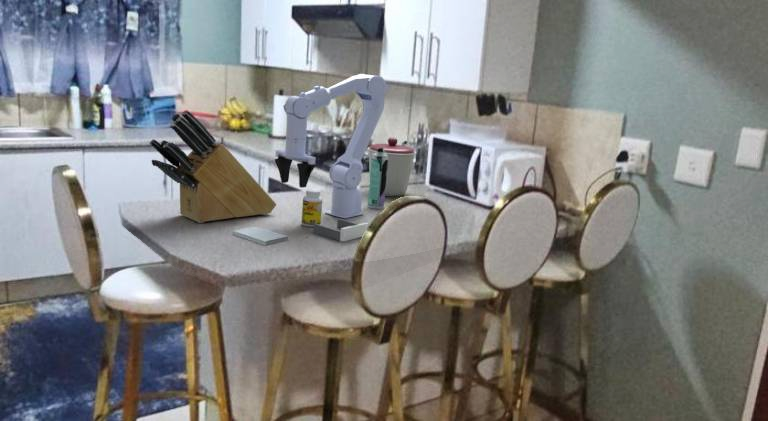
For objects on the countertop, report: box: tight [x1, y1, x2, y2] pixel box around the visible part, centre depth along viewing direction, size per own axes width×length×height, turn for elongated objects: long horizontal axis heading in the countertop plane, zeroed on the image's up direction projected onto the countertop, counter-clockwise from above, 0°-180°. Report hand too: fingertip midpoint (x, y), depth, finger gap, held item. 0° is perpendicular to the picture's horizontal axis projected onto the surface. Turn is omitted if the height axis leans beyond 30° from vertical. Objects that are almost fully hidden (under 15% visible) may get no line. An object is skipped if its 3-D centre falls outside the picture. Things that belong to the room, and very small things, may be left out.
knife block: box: [149, 109, 277, 224], centre depth 178 cm, size 11×35×31 cm, turn 134°
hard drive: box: [232, 225, 289, 246], centre depth 165 cm, size 2×8×12 cm
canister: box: [366, 136, 417, 197], centre depth 231 cm, size 18×18×21 cm
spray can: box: [367, 148, 388, 210], centre depth 209 cm, size 6×6×20 cm
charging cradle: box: [312, 217, 370, 243], centre depth 174 cm, size 11×11×4 cm
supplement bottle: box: [301, 188, 323, 228], centre depth 180 cm, size 6×6×10 cm
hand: (293, 184), depth 184 cm, fingers open, 7 cm apart
